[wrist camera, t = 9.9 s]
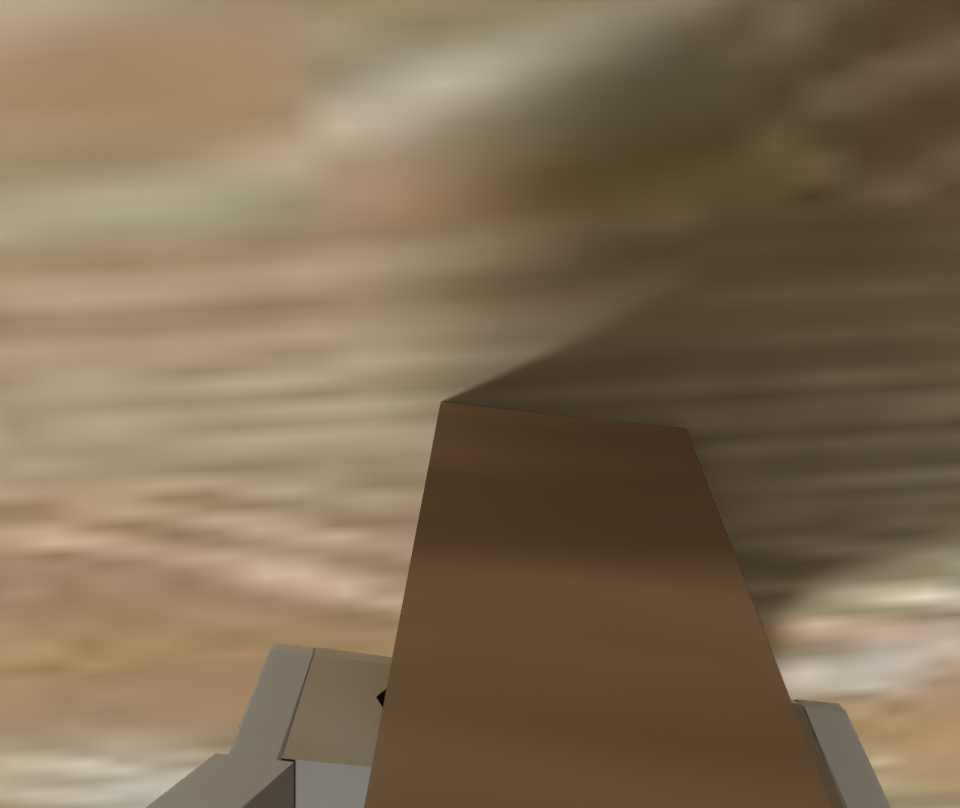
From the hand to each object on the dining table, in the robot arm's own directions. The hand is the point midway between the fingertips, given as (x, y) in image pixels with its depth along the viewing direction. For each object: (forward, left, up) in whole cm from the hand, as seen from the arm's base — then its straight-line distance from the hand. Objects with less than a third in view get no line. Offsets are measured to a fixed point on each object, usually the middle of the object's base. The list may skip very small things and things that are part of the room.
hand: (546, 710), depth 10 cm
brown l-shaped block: (+6, 0, -3) cm, 7 cm away
